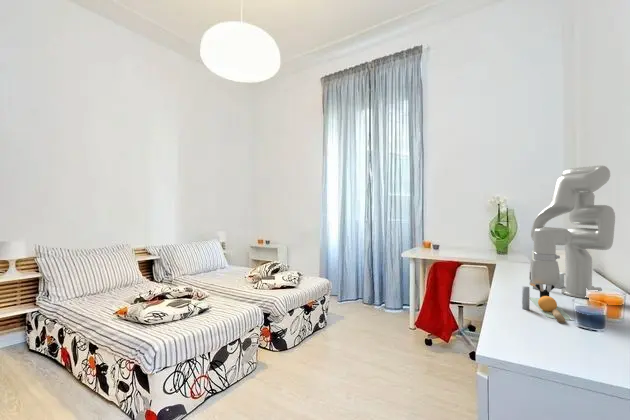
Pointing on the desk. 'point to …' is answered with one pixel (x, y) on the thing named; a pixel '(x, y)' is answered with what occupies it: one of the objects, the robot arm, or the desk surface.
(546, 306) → the ball
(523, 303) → the grey pin
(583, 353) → the desk surface
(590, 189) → the robot arm
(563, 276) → the skincare box
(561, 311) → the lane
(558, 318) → the maple pin
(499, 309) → the desk surface
